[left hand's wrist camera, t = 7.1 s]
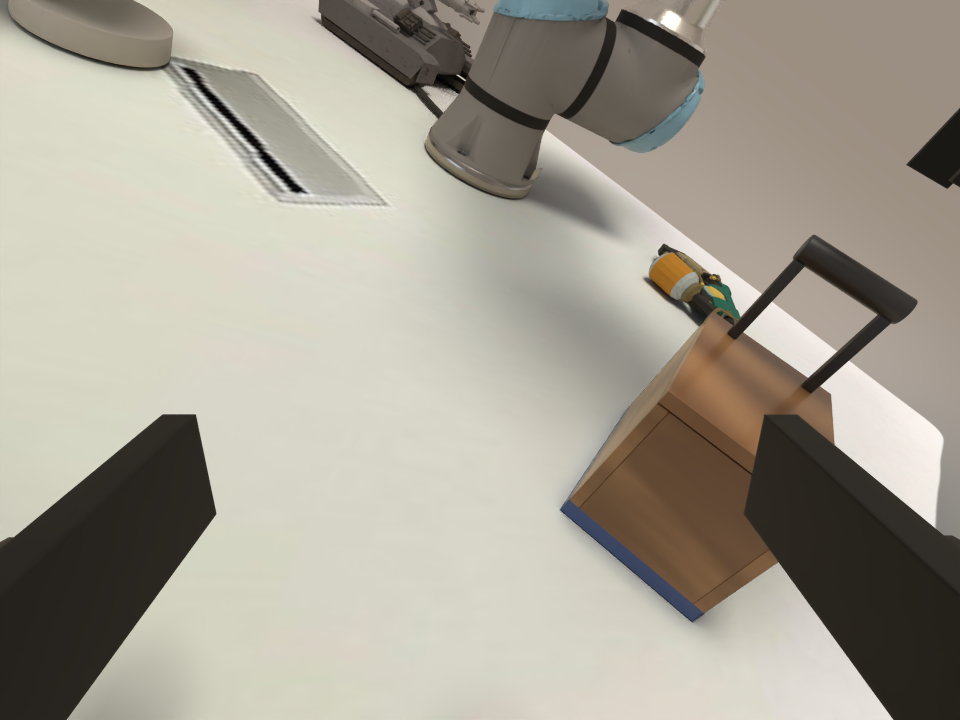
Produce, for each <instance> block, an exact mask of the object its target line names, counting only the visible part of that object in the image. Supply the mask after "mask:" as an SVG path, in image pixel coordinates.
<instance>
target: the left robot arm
mask: <svg viewBox="0 0 960 720" xmlns="http://www.w3.org/2000/svg"><path fill="white" fill-rule="evenodd" d="M215 515H216V509H215V505H214V500H213V495H212V490H211V485H210V481H209V476H208V471H207V466H206V461H205V456H204V452H203V447H202V442H201V437H200V432H199V428H198V423H197V418H196V414H163V415H161V416H160V417H159V418H158V419H157V420H155V421H154V422H153V423H152V424H150V425H149V426H148V427H147V428H146V429H144V430H143V431H142V432H141V433H140V434H138V435H137V436H136V437H135V438H134V439H132V440H131V441H130V442H129V443H127V444H126V445H125V446H124V447H123V448H121V449H120V450H119V451H118V452H117V453H115V454H114V455H113V456H112V457H111V458H109V459H108V460H107V461H106V462H105V463H103V464H102V465H101V466H100V467H98V468H97V469H96V470H95V471H94V472H92V473H91V474H90V475H89V476H88V477H86V478H85V479H84V480H83V481H82V482H80V483H79V484H78V485H77V486H75V487H74V488H73V489H72V490H71V491H69V492H68V493H67V494H66V495H65V496H63V497H62V498H61V499H60V500H59V501H57V502H56V503H55V504H54V505H52V506H51V507H50V508H49V509H48V510H46V511H45V512H44V513H43V514H42V515H40V516H39V517H38V518H37V519H36V520H34V521H33V522H32V523H31V524H29V525H28V526H27V527H26V528H25V529H23V530H22V531H21V532H20V533H19V534H17V535H16V536H15V537H9V538H7V539H5V540H3V541H1V542H0V720H67V718H68V717H69V716H70V714H71V713H72V712H73V710H74V709H75V707H76V706H77V705H78V703H79V702H80V701H81V699H82V698H83V696H84V695H85V694H86V692H87V691H88V690H89V688H90V687H91V685H92V684H93V683H94V681H95V680H96V679H97V677H98V676H99V674H100V673H101V672H102V670H103V669H104V668H105V666H106V665H107V663H108V662H109V661H110V659H111V658H112V657H113V655H114V654H115V653H116V651H117V650H118V648H119V647H120V646H121V644H122V643H123V642H124V640H125V639H126V637H127V636H128V635H129V633H130V632H131V631H132V629H133V628H134V626H135V625H136V624H137V622H138V621H139V620H140V618H141V617H142V615H143V614H144V613H145V611H146V610H147V609H148V607H149V606H150V604H151V603H152V602H153V600H154V599H155V598H156V596H157V595H158V593H159V592H160V591H161V589H162V588H163V587H164V585H165V584H166V582H167V581H168V580H169V578H170V577H171V576H172V574H173V573H174V572H175V570H176V569H177V567H178V566H179V565H180V563H181V562H182V561H183V559H184V558H185V556H186V555H187V554H188V552H189V551H190V550H191V548H192V547H193V545H194V544H195V543H196V541H197V540H198V539H199V537H200V536H201V534H202V533H203V532H204V530H205V529H206V528H207V526H208V525H209V523H210V522H211V521H212V519H213V518H214V517H215ZM744 515H745V517H746V518H747V519H748V521H749V522H750V523H751V525H752V526H753V528H754V529H755V530H756V532H757V533H758V534H759V536H760V537H761V539H762V540H763V541H764V543H765V544H766V545H767V547H768V548H769V550H770V551H771V552H772V554H773V555H774V556H775V558H776V559H777V561H778V562H779V563H780V565H781V566H782V567H783V569H784V570H785V572H786V573H787V574H788V576H789V577H790V578H791V580H792V581H793V582H794V584H795V585H796V587H797V588H798V589H799V591H800V592H801V593H802V595H803V596H804V598H805V599H806V600H807V602H808V603H809V604H810V606H811V607H812V609H813V610H814V611H815V613H816V614H817V615H818V617H819V618H820V620H821V621H822V622H823V624H824V625H825V626H826V628H827V629H828V631H829V632H830V633H831V635H832V636H833V637H834V639H835V640H836V642H837V643H838V644H839V646H840V647H841V648H842V650H843V651H844V652H845V654H846V655H847V657H848V658H849V659H850V661H851V662H852V663H853V665H854V666H855V668H856V669H857V670H858V672H859V673H860V674H861V676H862V677H863V679H864V680H865V681H866V683H867V684H868V685H869V687H870V688H871V690H872V691H873V692H874V694H875V695H876V696H877V698H878V699H879V701H880V702H881V703H882V705H883V706H884V707H885V709H886V710H887V712H888V713H889V714H890V716H891V717H892V718H893V720H960V540H959V539H957V538H956V537H954V536H944V535H943V534H941V533H940V532H939V531H938V530H937V529H935V528H934V527H933V526H932V525H931V524H929V523H928V522H927V521H926V520H924V519H923V518H922V517H921V516H920V515H918V514H917V513H916V512H915V511H914V510H912V509H911V508H910V507H909V506H908V505H906V504H905V503H904V502H903V501H901V500H900V499H899V498H898V497H897V496H895V495H894V494H893V493H892V492H891V491H889V490H888V489H887V488H886V487H885V486H883V485H882V484H881V483H880V482H878V481H877V480H876V479H875V478H874V477H872V476H871V475H870V474H869V473H868V472H866V471H865V470H864V469H863V468H862V467H860V466H859V465H858V464H857V463H855V462H854V461H853V460H852V459H851V458H849V457H848V456H847V455H846V454H845V453H843V452H842V451H841V450H840V449H839V448H837V447H836V446H835V445H834V444H833V443H831V442H830V441H829V440H828V439H826V438H825V437H824V436H823V435H822V434H820V433H819V432H818V431H817V430H816V429H814V428H813V427H812V426H811V425H810V424H808V423H807V422H806V421H805V420H803V419H802V418H801V417H800V416H799V415H797V414H764V418H763V423H762V428H761V432H760V437H759V442H758V447H757V452H756V456H755V461H754V466H753V471H752V476H751V481H750V485H749V490H748V495H747V500H746V505H745V509H744Z"/></svg>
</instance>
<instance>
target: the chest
mask: <svg viewBox="0 0 960 720" xmlns="http://www.w3.org/2000/svg"><path fill="white" fill-rule="evenodd" d="M702 324H703V323H702ZM702 324H701V325H700V327H699V328H698V329H697V330H696V331H695V332H694V333H693V335H692V336H691V337H690V338H689V339H688V340H687V341H686V343H685V344H684V345H683V346H682V347H681V348H680V349H679V351H678V352H677V353H676V354H675V355H674V356H673V357H672V359H671V360H670V361H669V362H668V363H667V364H666V366H665V367H664V368H663V369H662V370H661V371H660V372H659V374H658V375H657V376H656V377H655V378H654V379H653V380H652V382H651V383H650V384H649V385H648V386H647V387H646V388H645V390H644V391H643V392H642V393H641V394H640V395H639V396H638V398H637V399H636V400H635V401H634V402H633V403H632V404H631V405H630V407H629V408H628V409H627V410H626V411H625V413H624V414H623V416H622V417H621V419H620V420H619V422H618V423H617V425H616V426H615V428H614V429H613V431H612V432H611V434H610V435H609V437H608V438H607V440H606V441H605V443H604V444H603V446H602V447H601V449H600V450H599V452H598V453H597V455H596V456H595V458H594V459H593V461H592V462H591V464H590V465H589V467H588V468H587V470H586V471H585V473H584V474H583V476H582V477H581V479H580V480H579V482H578V483H577V485H576V486H575V488H574V489H573V491H572V492H571V494H570V495H569V497H568V498H567V500H566V501H565V503H564V504H563V506H562V507H561V509H560V510H561V511H563V512H564V513H565V514H566V515H567V516H568V517H570V518H571V519H572V520H573V521H574V522H576V523H577V524H578V525H579V526H580V527H581V528H583V529H584V530H585V531H586V532H587V533H588V534H590V535H591V536H592V537H593V538H594V539H596V540H597V541H598V542H599V543H600V544H601V545H603V546H604V547H605V548H606V549H607V550H608V551H610V552H611V553H612V554H613V555H614V556H616V557H617V558H618V559H619V560H620V561H621V562H623V563H624V564H625V565H626V566H627V567H628V568H630V569H631V570H632V571H633V572H634V573H636V574H637V575H638V576H639V577H640V578H641V579H643V580H644V581H645V582H646V583H647V584H648V585H650V586H651V587H652V588H653V589H654V590H656V591H657V592H658V593H659V594H660V595H661V596H663V597H664V598H665V599H666V600H667V601H668V602H670V603H671V604H672V605H673V606H674V607H676V608H677V609H678V610H679V611H680V612H681V613H683V614H684V615H685V616H686V617H687V618H689V619H690V620H691V621H692V622H693V621H695V620H696V619H698V618H699V617H700V616H702V615H703V614H705V612H707V611H708V610H709V609H711V608H712V607H714V606H715V605H717V604H718V603H720V602H721V601H723V600H724V599H725V598H727V597H728V596H730V595H731V594H733V593H734V592H736V591H737V590H739V589H740V588H741V587H743V586H744V585H746V584H747V583H749V582H750V581H752V580H753V579H755V578H756V577H757V576H759V575H760V574H762V573H763V572H765V571H766V570H768V569H769V568H770V567H772V566H773V565H775V564H776V563H778V561H777V559H776V558H775V556H774V555H773V554H772V552H771V551H770V550H769V548H768V547H767V545H766V544H765V543H764V541H763V540H762V539H761V537H760V536H759V534H758V533H757V532H756V530H755V529H754V528H753V526H752V525H751V523H750V522H749V521H748V519H747V518H746V517H745V515H744V509H745V505H746V500H747V495H748V490H749V485H750V481H751V476H752V473H750V472H749V471H748V470H747V469H745V468H744V467H743V466H741V465H740V464H739V463H737V462H736V461H735V460H733V459H732V458H731V457H729V456H728V455H727V454H726V453H724V452H723V451H722V450H720V449H719V448H718V447H716V446H715V445H714V444H712V443H711V442H710V441H708V440H707V439H706V438H705V437H703V436H702V435H701V434H699V433H698V432H697V431H695V430H694V429H693V428H691V427H690V426H689V425H688V424H686V423H685V422H684V421H682V420H681V419H680V418H678V417H677V416H676V415H674V414H673V413H672V412H670V411H669V410H668V409H667V408H665V407H664V406H663V405H661V404H660V403H659V400H660V398H661V396H662V394H663V393H664V391H665V389H666V387H667V386H668V384H669V382H670V380H671V379H672V377H673V375H674V373H675V372H676V370H677V368H678V366H679V364H680V363H681V361H682V359H683V357H684V356H685V354H686V352H687V350H688V349H689V347H690V345H691V343H692V342H693V340H694V338H695V336H696V335H697V333H698V331H699V329H700V328H701V326H702Z"/></svg>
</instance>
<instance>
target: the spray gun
mask: <svg viewBox="0 0 960 720" xmlns="http://www.w3.org/2000/svg"><path fill="white" fill-rule="evenodd" d="M658 255H659V257H658V258H657V259H656V260H655V261H654V262H653V263H652V264H651V266H650V269H649V277H650V278H651V279H652V280H653V281H654V282H655V283H656V284H657V285H658V286H659V287H660V288H661V289H663V290H664V291H665V292H666V293H667V294H668V295H669V296H670V297H672V298H674V299H676V300H682V301H684V302H689V301H694V302H695V303H696V304H697V305H698V306H699V307H700V308H701V309H702V310H703V311H704V312H705V313H706V314H707V315H708V316H709V314H710V313H711V312H712V311H713V312H715V313H716V314H718V315H719V316H720V317H722V318H723V319H725V320H726V321H728V322H729V323H730V324H732V325H734V324H735V323H736V322H737V321H738V320H739V319H740V315H739V312H738V310H736V308H735V305H734V303H733V300H732V298H731V291H730V289H729V287H728V286H727V285H724V284H722V282H721V279H720V276H719V275H716V274H713V275H711V274H710V273H709V272H707V271H706V270H705V269H704V268H702V267H701V266H700V265H699V264H698V263H696V262H695V261H694V260H693V259H691V258H690V257H689V256H687V255H686V254H684V253H682V252H680V251H677V250H675V249H673V248H670V247H669V246H668V245H665V244H663V245H662V246H661V248H660V249H659V250H658Z"/></svg>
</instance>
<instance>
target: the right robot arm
mask: <svg viewBox="0 0 960 720" xmlns="http://www.w3.org/2000/svg"><path fill="white" fill-rule="evenodd" d="M724 1H725V0H637V1H635V2H632V3H630V4H628V5H625V6H623V8H622V10H621V12H620V14H619V16H618V18H617V20H616V21H615V22H613V21H611V20H609V19H608V18H606V15H607V13H608V6H609V4H608V2H607V1H606V0H498V2H497V4H495V6H494V8H493V11H494V13H493V16H492V18H491V21H490V23H489V26H488V28H487V30H486V33H485V35H484V38H483V40H482V43H481V45H480V47H479V50H478V52H477V55H476V57H475V59H474V62H473V64H472V67H471V69H470V71H469V74H468V77H467V79H466V81H465V84H464V86H463V88H462V90H461V92H460V94H459V95H458V96H457V97H456V99H455V100H454V101H453V102H452V103H451V105H450V106H449V107H448V108H447V109H446V111H445V112H444V113H443V112H442V111H441V110H440V109H439V108H438V107H437V106H436V105H435V104H434V103H433V101H432V100H431V99H430V98H429V97H428V96H427V95H426V93H425V92H424V91H423V90H422V88H421V87H420V86H419V84H415V85H414V86H413V87H414V88H415V90H416V91H417V93H418V94H419V95H420V97H421V98H422V99H423V100H424V101H425V103H426V104H427V105H428V106H429V107H430V108H431V109H432V111H433V112H434V113H435V114H436V115H437V116H438V117H439V119H438V120H437V121H436V123H435V124H434V125H433V126H432V127H431V129H430V131H429V134H428V136H427V139H426V142H425V146H426V149H427V151H428V152H429V154H430V155H431V156H432V157H433V158H434V159H435V160H436V161H437V162H438V163H439V164H440V165H441V166H442V167H444V168H445V169H446V170H448V171H449V172H450V173H452V174H453V175H455V176H456V177H458V178H460V179H461V180H463V181H465V182H467V183H469V184H471V185H473V186H475V187H477V188H479V189H481V190H484V191H486V192H489V193H492V194H495V195H498V196H502V197H506V198H523V197H525V196H526V195H527V193H528V191H529V189H530V187H531V186H532V184H533V181H534V179H535V178H537V177H538V175H539V173H540V171H541V169H542V168H540V169H537V170H536V165H537V159H538V154H539V149H540V144H541V139H542V135H543V133H544V131H545V129H546V127H547V125H548V123H549V121H550V119H551V118H552V116H553V115H554V114H557V115H559V116H561V117H563V118H565V119H567V120H569V121H571V122H573V123H575V124H577V125H579V126H581V127H583V128H585V129H587V130H589V131H591V132H593V133H595V134H597V135H599V136H601V137H603V138H605V139H607V140H609V141H610V142H611V143H612V144H613V145H616V146H622V147H624V148H626V149H629V150H631V151H633V152H637V153H645V152H649V151H652V150H655V149H656V148H658V147H660V146H662V145H664V144H665V143H667V142H668V141H669V140H670V139H671V138H673V137H674V136H675V135H676V134H677V133H678V132H679V131H680V130H681V129H682V127H683V126H684V125H685V124H686V123H687V121H688V120H689V119H690V117H691V116H692V114H693V113H694V111H695V109H696V108H697V106H698V104H699V102H700V99H701V96H700V94H701V93H702V92H703V90H704V78H703V76H702V74H701V72H700V70H698V69H699V67H700V65H701V64H702V62H703V60H704V59H705V57H706V55H707V48H706V42H705V34H706V31H707V29H708V27H709V26H710V24H711V22H712V21H713V19H714V17H715V16H716V14H717V12H718V11H719V9H720V7H721V6H722V4H723V2H724ZM907 165H908V166H909V167H911V168H913V169H914V170H916V171H918V172H919V173H921V174H923V175H925V176H926V177H928V178H930V179H931V180H933V181H935V182H936V183H938V184H940V185H942V186H943V187H945V188H949V187H950V186H951V185H952V184H955V185H957V186H959V187H960V108H959V109H958V111H957V112H956V113H955V114H954V115H953V116H952V117H951V118H950V119H949V120H948V121H947V122H946V123H945V124H944V125H943V126H942V128H940V130H939V131H938V132H937V133H936V134H935V135H934V136H933V137H932V138H931V139H930V140H929V141H928V142H927V143H926V144H925V145H924V146H923V148H922V149H921V150H920V151H919V152H918V153H917V154H916V155H915V156H914V157H913V158H912V159H911V160H910V161H909V162H908V163H907Z"/></svg>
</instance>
